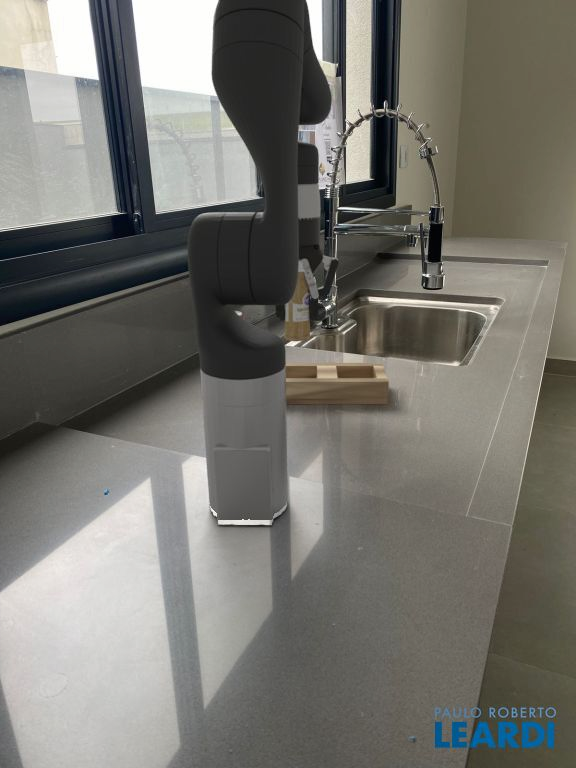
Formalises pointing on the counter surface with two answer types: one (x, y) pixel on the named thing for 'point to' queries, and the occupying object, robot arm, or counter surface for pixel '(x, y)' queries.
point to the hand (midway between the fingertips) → (297, 319)
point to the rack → (336, 383)
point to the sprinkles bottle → (298, 310)
